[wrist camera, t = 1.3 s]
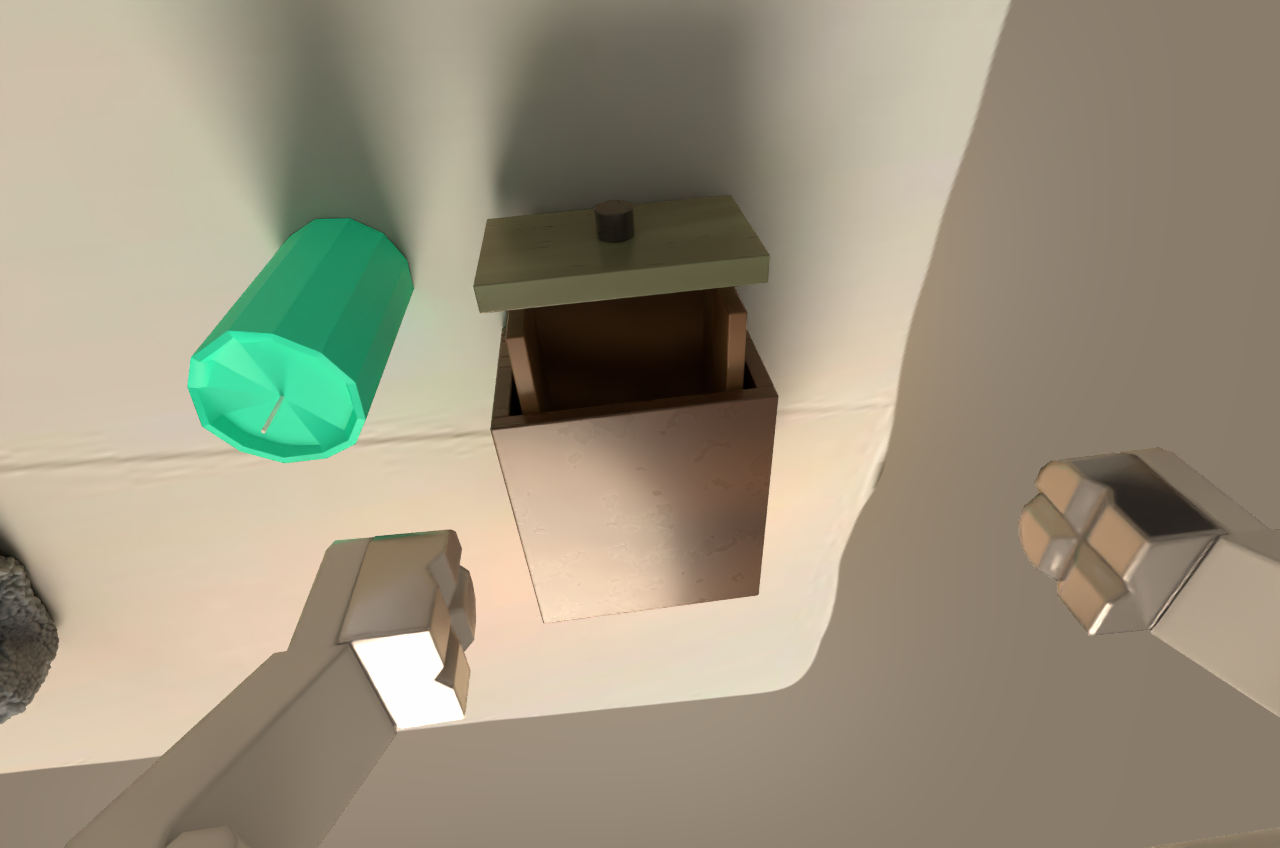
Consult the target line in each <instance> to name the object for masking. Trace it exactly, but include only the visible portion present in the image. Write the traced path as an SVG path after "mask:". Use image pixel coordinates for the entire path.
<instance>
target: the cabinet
mask: <svg viewBox="0 0 1280 848" xmlns="http://www.w3.org/2000/svg"><path fill="white" fill-rule="evenodd" d="M505 337H506V328H502V333H501V342H500V350H499V359H498V368H497V376H496V385H495V394H494V402H493V411H492V420H491V428H490V430H491V434H492V437H493V441H494V445H495V448H496V452H497V456H498V459H499V463H500V466H501V470H502V474H503V477H504V481H505V485H506V488H507V492H508V496H509V499H510V503H511V507H512V510H513V514H514V518H515V521H516V525H517V529H518V532H519V536H520V540H521V543H522V547H523V551H524V554H525V558H526V561H527V565H528V569H529V572H530V576H531V580H532V583H533V587H534V591H535V594H536V598H537V602H538V605H539V609H540V613H541V616H542V620H543V623H551V622H559V621H566V620H574V619H581V618H589V617H596V616H604V615H612V614H619V613H627V612H634V611H642V610H650V609H657V608H665V607H672V606H680V605H688V604H695V603H703V602H710V601H718V600H726V599H733V598H741V597H748V596H756V595H758V594H759V585H760V575H761V565H762V555H763V545H764V535H765V525H766V515H767V505H768V495H769V485H770V475H771V465H772V455H773V445H774V435H775V425H776V415H777V405H778V394H777V392H776V390H775V388H774V387H773V386H774V385H773V383H772V381H771V379H770V377H769V375H768V373H767V370H766V368H765V366H764V364H763V362H762V360H761V358H760V356H759V354H758V352H757V350H756V347H755V345H754V343H753V341H752V339H751V337H750V335H749V333H748V331H747V329H746V344H745V362H744V380H743V390H735V391H726V392H717V393H708V394H700V395H691V396H682V397H674V398H665V399H656V400H648V401H639V402H630V403H622V404H613V405H604V406H596V407H587V408H578V409H570V410H561V411H552V412H544V413H535V414H526V415H522V410H521V406H520V401H519V397H518V393H517V388H516V384H515V379H514V375H513V371H512V366H511V362H510V357H509V353H508V349H507V344H506V340H505Z"/></svg>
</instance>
